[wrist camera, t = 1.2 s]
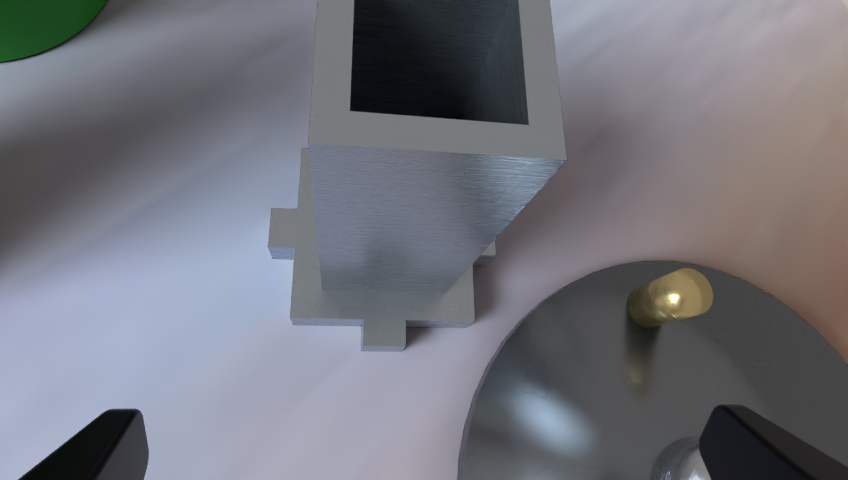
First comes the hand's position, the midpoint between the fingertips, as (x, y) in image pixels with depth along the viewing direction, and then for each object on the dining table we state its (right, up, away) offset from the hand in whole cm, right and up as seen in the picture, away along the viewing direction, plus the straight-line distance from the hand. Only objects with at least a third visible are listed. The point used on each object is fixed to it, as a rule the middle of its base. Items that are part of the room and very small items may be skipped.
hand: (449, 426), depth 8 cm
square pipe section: (-2, +3, +14) cm, 15 cm away
